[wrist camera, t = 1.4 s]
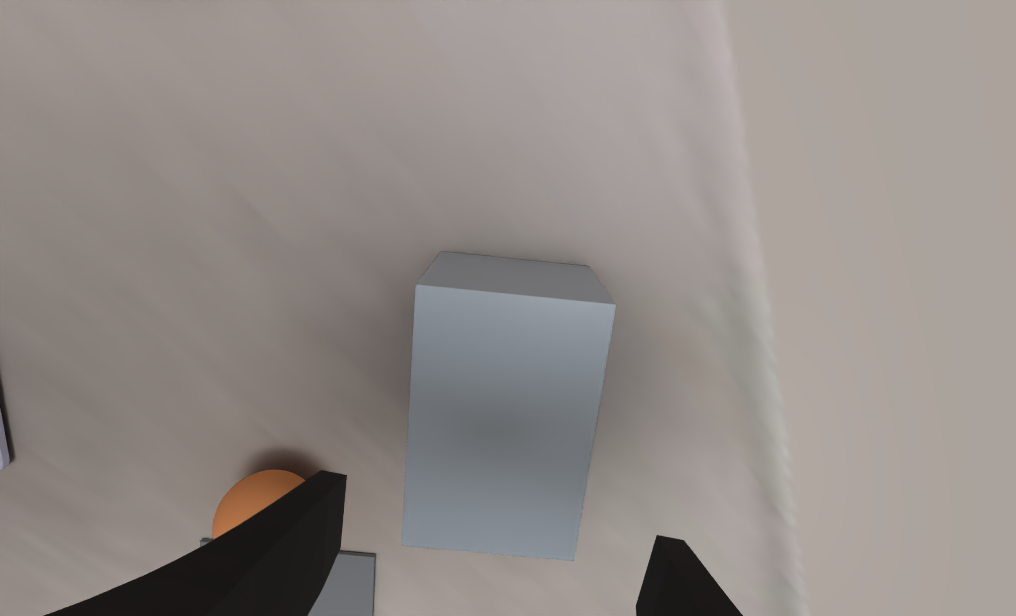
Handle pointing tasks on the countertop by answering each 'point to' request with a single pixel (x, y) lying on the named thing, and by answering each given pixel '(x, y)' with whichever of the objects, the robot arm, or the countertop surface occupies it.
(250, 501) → the ball
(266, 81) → the countertop surface
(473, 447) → the pale grey rectangular box
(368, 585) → the thin grey panel
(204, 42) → the countertop surface
